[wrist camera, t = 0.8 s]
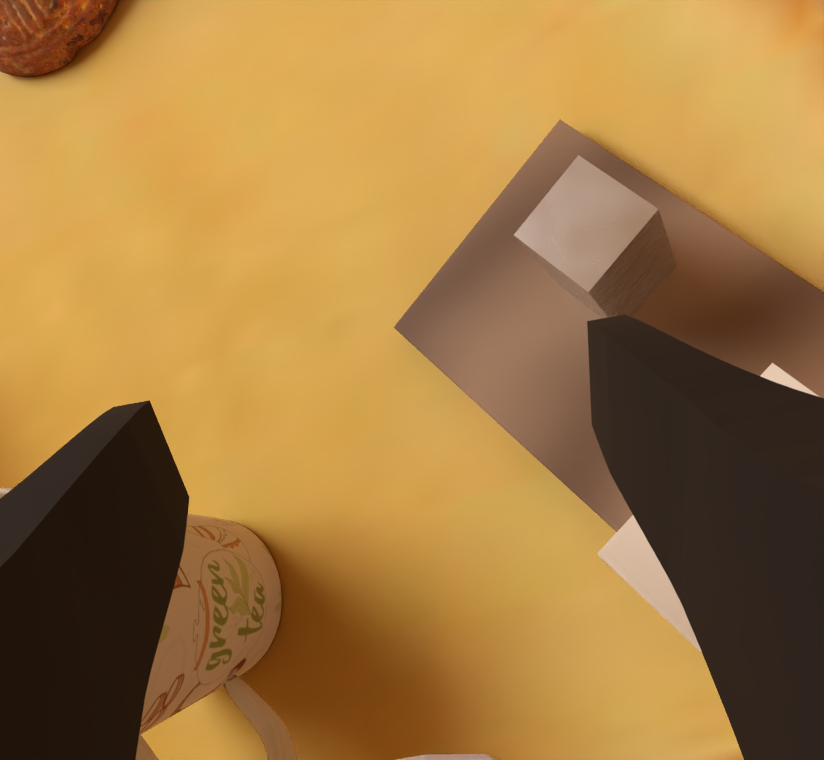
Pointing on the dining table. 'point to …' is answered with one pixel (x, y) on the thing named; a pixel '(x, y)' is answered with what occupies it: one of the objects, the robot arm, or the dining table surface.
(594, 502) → the stand
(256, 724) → the mug
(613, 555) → the tan rectangular block
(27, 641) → the robot arm
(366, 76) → the dining table surface
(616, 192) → the post
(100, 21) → the bell
